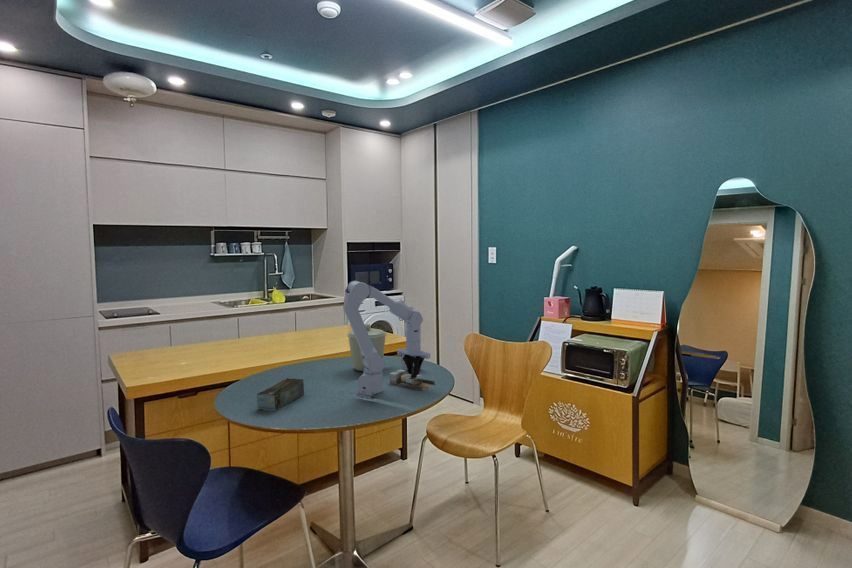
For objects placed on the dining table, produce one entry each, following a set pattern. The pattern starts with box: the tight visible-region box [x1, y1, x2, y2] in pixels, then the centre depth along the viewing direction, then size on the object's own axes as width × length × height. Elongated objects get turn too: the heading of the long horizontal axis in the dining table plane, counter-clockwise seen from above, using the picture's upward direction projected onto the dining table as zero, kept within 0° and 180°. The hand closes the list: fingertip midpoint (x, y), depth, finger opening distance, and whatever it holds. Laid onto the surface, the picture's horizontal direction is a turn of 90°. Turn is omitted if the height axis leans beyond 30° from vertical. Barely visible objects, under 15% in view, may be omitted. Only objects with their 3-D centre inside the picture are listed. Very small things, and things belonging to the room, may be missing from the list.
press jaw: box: [406, 366, 423, 385], centre depth 180 cm, size 7×3×7 cm, turn 148°
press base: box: [385, 368, 436, 392], centre depth 181 cm, size 10×18×6 cm, turn 58°
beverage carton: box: [256, 377, 305, 412], centre depth 166 cm, size 8×19×7 cm, turn 164°
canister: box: [347, 323, 388, 372], centre depth 209 cm, size 18×18×21 cm
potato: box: [401, 373, 411, 384], centre depth 182 cm, size 4×4×3 cm
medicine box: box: [401, 355, 422, 371], centre depth 202 cm, size 8×4×9 cm, turn 62°
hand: (413, 374), depth 180 cm, fingers closed on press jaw, 2 cm apart
